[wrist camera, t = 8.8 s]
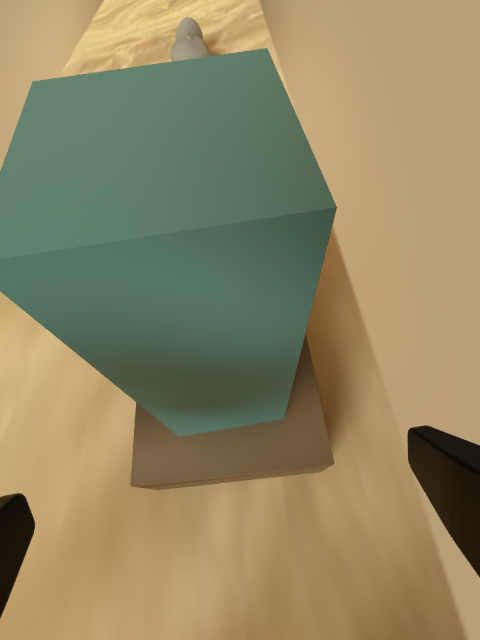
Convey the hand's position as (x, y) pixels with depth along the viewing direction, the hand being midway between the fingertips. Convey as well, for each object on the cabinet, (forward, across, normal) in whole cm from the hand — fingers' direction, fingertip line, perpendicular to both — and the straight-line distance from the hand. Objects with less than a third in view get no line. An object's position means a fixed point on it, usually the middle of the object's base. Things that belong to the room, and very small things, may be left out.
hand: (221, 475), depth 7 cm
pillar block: (+9, 0, +2) cm, 9 cm away
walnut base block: (+12, 0, +4) cm, 12 cm away
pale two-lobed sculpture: (+43, -1, -27) cm, 51 cm away
